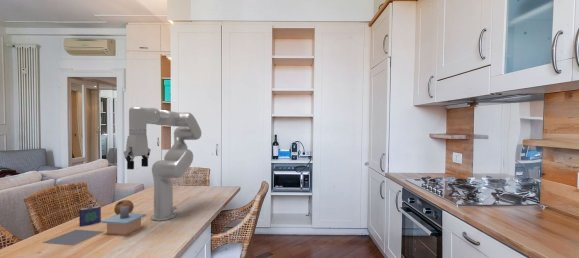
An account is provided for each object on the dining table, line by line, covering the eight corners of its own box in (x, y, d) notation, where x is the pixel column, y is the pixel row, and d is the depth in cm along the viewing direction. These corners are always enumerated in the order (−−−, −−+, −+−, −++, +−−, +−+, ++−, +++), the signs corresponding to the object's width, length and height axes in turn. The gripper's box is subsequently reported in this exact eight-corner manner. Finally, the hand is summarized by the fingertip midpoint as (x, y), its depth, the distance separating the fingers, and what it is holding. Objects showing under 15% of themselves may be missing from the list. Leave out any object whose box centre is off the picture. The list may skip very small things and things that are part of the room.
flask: (100, 222, 149) (100, 202, 149) (101, 223, 147) (101, 203, 147) (78, 226, 142) (78, 205, 142) (80, 228, 140) (80, 206, 140)
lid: (122, 214, 143) (122, 202, 143) (145, 215, 141) (145, 204, 141) (101, 222, 130) (101, 210, 130) (126, 224, 128) (126, 211, 128)
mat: (76, 230, 137) (76, 229, 137) (104, 232, 134) (104, 231, 134) (41, 244, 121) (41, 242, 121) (73, 246, 118) (73, 245, 118)
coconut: (120, 223, 157) (112, 209, 152) (116, 214, 164) (109, 201, 159) (137, 214, 162) (131, 200, 157) (134, 206, 169) (127, 193, 164)
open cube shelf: (123, 227, 141) (123, 215, 141) (140, 228, 140) (140, 216, 139) (106, 234, 131) (106, 221, 131) (125, 236, 130) (125, 223, 130)
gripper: (143, 132, 147) (143, 165, 147) (117, 132, 130) (117, 170, 130) (156, 132, 145) (156, 165, 145) (131, 132, 128) (131, 170, 128)
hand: (137, 167), depth 137 cm, fingers open, 9 cm apart
